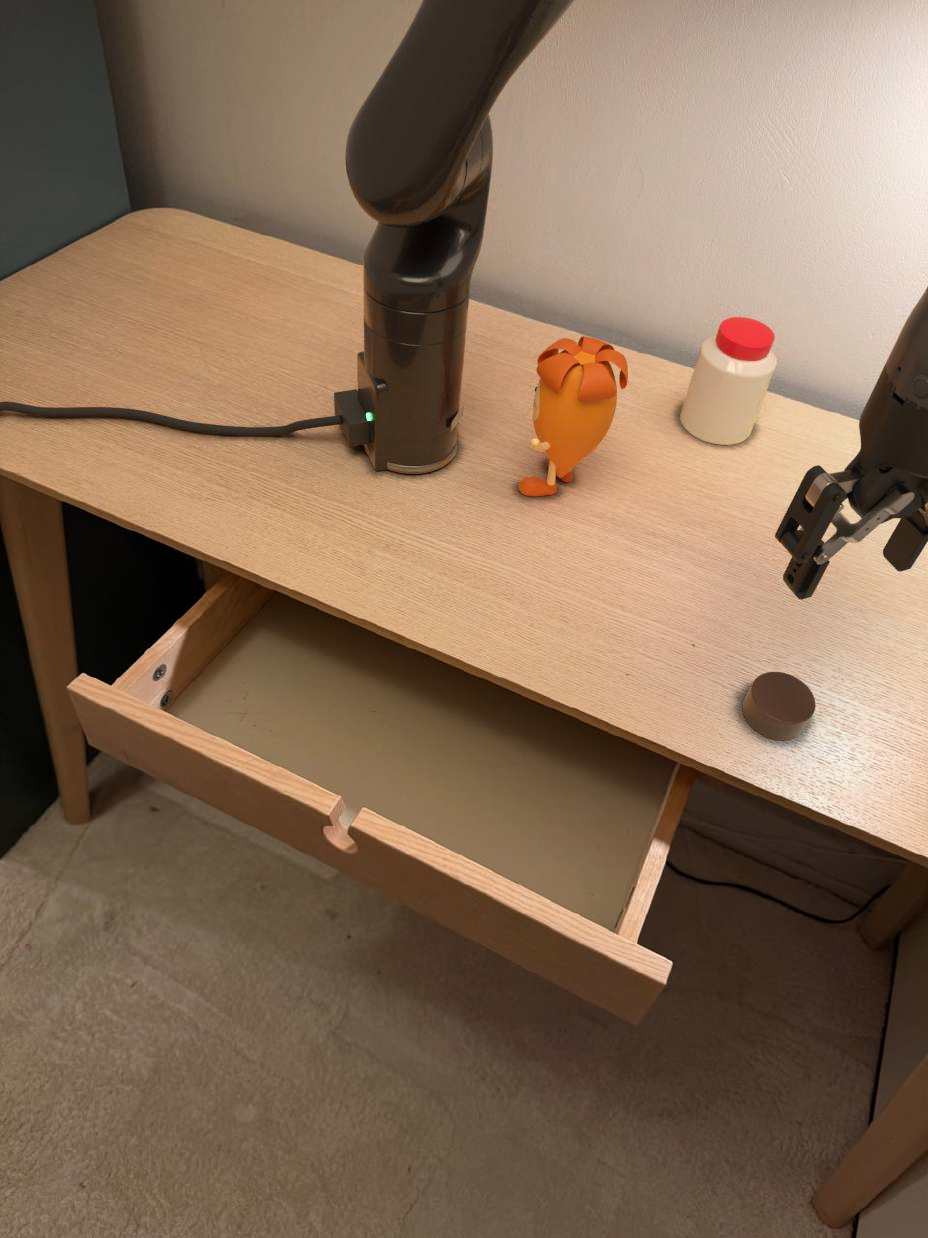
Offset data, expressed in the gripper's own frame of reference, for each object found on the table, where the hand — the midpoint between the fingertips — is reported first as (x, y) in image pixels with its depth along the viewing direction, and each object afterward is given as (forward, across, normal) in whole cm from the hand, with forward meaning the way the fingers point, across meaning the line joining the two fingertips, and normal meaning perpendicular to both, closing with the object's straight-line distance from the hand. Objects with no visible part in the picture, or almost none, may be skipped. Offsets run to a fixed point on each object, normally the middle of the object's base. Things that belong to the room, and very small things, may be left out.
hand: (845, 576), depth 63 cm
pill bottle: (+14, -15, -33) cm, 39 cm away
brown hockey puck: (+14, +2, +1) cm, 14 cm away
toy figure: (+14, +6, -29) cm, 32 cm away
